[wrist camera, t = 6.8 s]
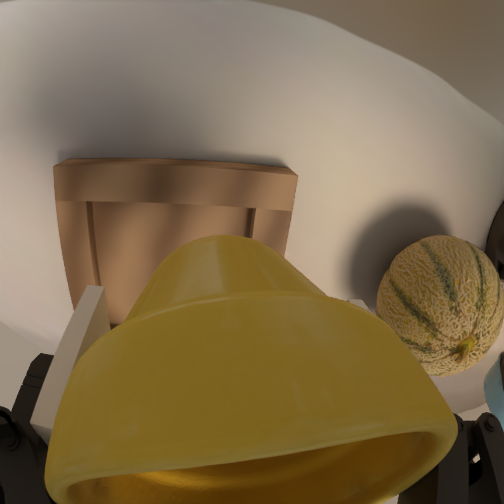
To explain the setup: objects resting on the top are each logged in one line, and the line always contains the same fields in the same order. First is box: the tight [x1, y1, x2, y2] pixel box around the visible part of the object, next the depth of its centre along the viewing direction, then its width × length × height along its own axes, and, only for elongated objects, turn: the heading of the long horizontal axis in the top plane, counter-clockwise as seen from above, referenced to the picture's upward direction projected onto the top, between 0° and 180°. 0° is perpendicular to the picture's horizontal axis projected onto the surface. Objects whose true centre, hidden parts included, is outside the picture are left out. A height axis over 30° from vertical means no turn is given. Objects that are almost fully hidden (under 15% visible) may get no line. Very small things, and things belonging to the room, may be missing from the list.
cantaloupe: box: [376, 235, 504, 377], centre depth 27 cm, size 15×15×15 cm
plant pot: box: [45, 235, 458, 504], centre depth 9 cm, size 10×10×10 cm
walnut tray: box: [53, 158, 298, 330], centre depth 28 cm, size 20×20×3 cm
